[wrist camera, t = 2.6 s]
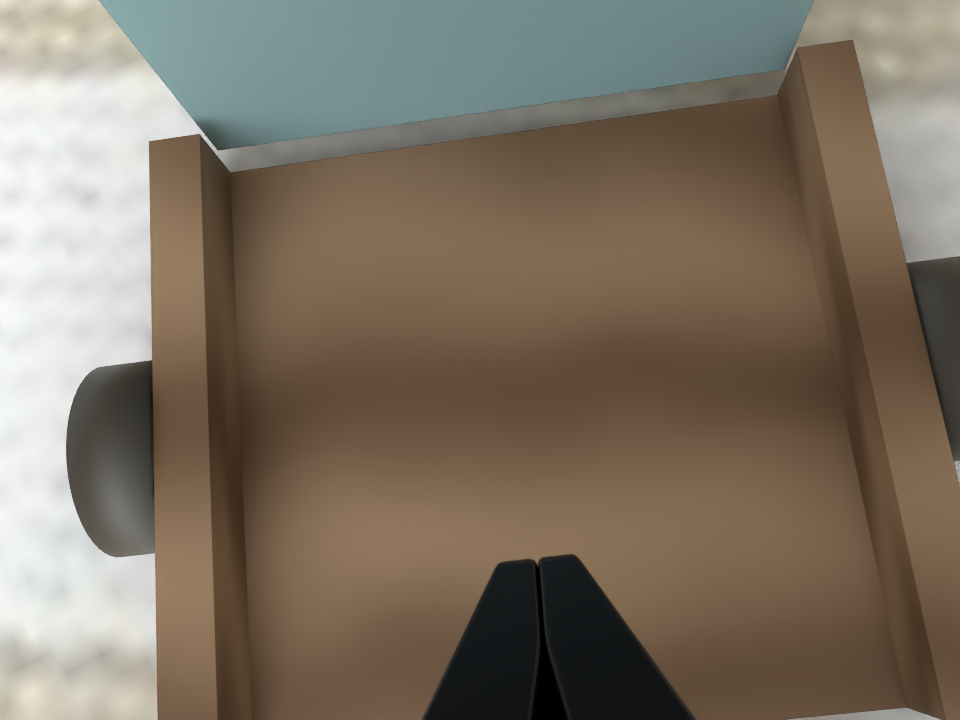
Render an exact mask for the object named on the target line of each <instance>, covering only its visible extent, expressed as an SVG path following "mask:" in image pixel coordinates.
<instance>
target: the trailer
mask: <svg viewBox="0 0 960 720" xmlns="http://www.w3.org/2000/svg"><path fill="white" fill-rule="evenodd" d="M149 169H150V236H151V303H152V360H151V361H144V362H136V363H128V364H120V365H113V366H105V367H99V368H97V369H95V370H93V371H92V372H90V373H89V374H88V375H87V376H86V377H85V378H84V380H83V381H82V383H81V384H80V386H79V388H78V390H77V392H76V394H75V397H74V399H73V403H72V406H71V410H70V415H69V420H68V427H67V440H66V458H67V470H68V478H69V484H70V489H71V493H72V498H73V501H74V504H75V508H76V511H77V514H78V516H79V518H80V521H81V523H82V525H83V527H84V529H85V531H86V533H87V534H88V536H89V537H90V539H91V540H92V541H93V543H94V544H95V545H96V546H97V547H98V548H99V549H100V550H102V551H103V552H104V553H106V554H108V555H110V556H114V557H125V556H134V555H143V554H152V553H155V571H156V638H157V705H158V720H421V719H422V717H423V715H424V713H425V711H426V708H427V706H428V704H429V702H430V700H431V698H432V696H433V694H434V692H435V690H436V688H437V686H438V684H439V682H440V680H441V678H442V676H443V673H444V671H445V669H446V667H447V665H448V663H449V661H450V659H451V657H452V655H453V653H454V651H455V649H456V647H457V645H458V643H459V641H460V638H461V636H462V634H463V632H464V630H465V628H466V626H467V624H468V622H469V620H470V618H471V616H472V614H473V612H474V610H475V608H476V606H477V603H478V601H479V599H480V597H481V595H482V593H483V591H484V589H485V587H486V585H487V583H488V581H489V579H490V577H491V575H492V573H493V571H494V569H495V567H496V566H497V564H499V563H500V562H504V561H512V560H521V559H533V560H535V562H536V563H537V566H538V561H539V559H541V558H542V557H548V556H557V555H566V554H574V555H576V556H577V557H578V558H579V559H580V560H581V561H582V563H583V564H584V565H585V567H586V568H587V569H588V571H589V572H590V574H591V575H592V576H593V578H594V579H595V580H596V582H597V583H598V585H599V586H600V587H601V589H602V590H603V591H604V593H605V594H606V596H607V597H608V598H609V600H610V601H611V602H612V604H613V605H614V607H615V608H616V609H617V611H618V612H619V613H620V615H621V616H622V618H623V619H624V620H625V622H626V623H627V624H628V626H629V627H630V629H631V630H632V631H633V633H634V634H635V635H636V637H637V638H638V640H639V641H640V642H641V644H642V645H643V646H644V648H645V649H646V650H647V652H648V653H649V655H650V656H651V657H652V659H653V660H654V661H655V663H656V664H657V666H658V667H659V668H660V670H661V671H662V672H663V674H664V675H665V677H666V678H667V679H668V681H669V682H670V683H671V685H672V686H673V688H674V689H675V690H676V692H677V693H678V694H679V696H680V697H681V699H682V700H683V701H684V703H685V704H686V705H687V707H688V708H689V710H690V711H691V712H692V714H693V715H694V716H695V718H696V719H697V720H784V719H794V718H805V717H815V716H825V715H835V714H845V713H855V712H865V711H875V710H885V709H896V708H906V707H907V708H910V709H913V710H916V711H918V712H921V713H924V714H927V715H930V716H933V717H936V718H939V719H942V720H960V486H959V482H958V478H957V474H956V469H955V465H954V461H959V460H960V256H959V257H951V258H943V259H935V260H928V261H920V262H912V263H906V260H905V256H904V252H903V248H902V243H901V239H900V235H899V231H898V227H897V223H896V218H895V214H894V210H893V206H892V202H891V197H890V193H889V189H888V185H887V181H886V176H885V172H884V168H883V164H882V160H881V156H880V151H879V147H878V143H877V139H876V135H875V130H874V126H873V122H872V118H871V114H870V110H869V105H868V101H867V97H866V93H865V89H864V84H863V80H862V76H861V72H860V68H859V63H858V59H857V55H856V51H855V47H854V43H853V40H848V41H841V42H834V43H827V44H820V45H813V46H806V47H799V48H797V50H796V53H795V55H794V57H793V60H792V62H791V64H790V67H789V69H788V71H787V74H786V76H785V78H784V81H783V83H782V86H781V88H780V90H779V93H778V95H775V96H768V97H761V98H754V99H747V100H740V101H733V102H726V103H719V104H712V105H705V106H698V107H691V108H683V109H676V110H669V111H662V112H655V113H648V114H641V115H634V116H627V117H620V118H613V119H606V120H599V121H592V122H584V123H577V124H570V125H563V126H556V127H549V128H542V129H535V130H528V131H521V132H514V133H507V134H500V135H492V136H485V137H478V138H471V139H464V140H457V141H450V142H443V143H436V144H429V145H422V146H415V147H408V148H401V149H393V150H386V151H379V152H372V153H365V154H358V155H351V156H344V157H337V158H330V159H323V160H316V161H309V162H302V163H294V164H287V165H280V166H273V167H266V168H259V169H252V170H245V171H238V172H231V173H230V171H229V170H228V169H227V168H226V166H225V165H224V164H223V163H222V161H221V160H220V159H219V158H218V156H217V155H216V154H215V153H214V151H213V150H212V149H211V148H210V146H209V145H208V144H207V143H206V142H205V140H204V139H203V138H202V137H201V135H200V134H197V135H190V136H183V137H176V138H169V139H162V140H155V141H149Z"/></svg>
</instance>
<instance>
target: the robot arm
mask: <svg viewBox="0 0 960 720" xmlns="http://www.w3.org/2000/svg"><path fill="white" fill-rule="evenodd" d="M421 720H697V719H696V718H695V716H694V715H693V714H692V712H691V711H690V710H689V708H688V707H687V705H686V704H685V703H684V701H683V700H682V699H681V697H680V696H679V694H678V693H677V692H676V690H675V689H674V688H673V686H672V685H671V683H670V682H669V681H668V679H667V678H666V677H665V675H664V674H663V672H662V671H661V670H660V668H659V667H658V666H657V664H656V663H655V661H654V660H653V659H652V657H651V656H650V655H649V653H648V652H647V650H646V649H645V648H644V646H643V645H642V644H641V642H640V641H639V640H638V638H637V637H636V635H635V634H634V633H633V631H632V630H631V629H630V627H629V626H628V624H627V623H626V622H625V620H624V619H623V618H622V616H621V615H620V613H619V612H618V611H617V609H616V608H615V607H614V605H613V604H612V602H611V601H610V600H609V598H608V597H607V596H606V594H605V593H604V591H603V590H602V589H601V587H600V586H599V585H598V583H597V582H596V580H595V579H594V578H593V576H592V575H591V574H590V572H589V571H588V569H587V568H586V567H585V565H584V564H583V563H582V561H581V560H580V559H579V558H578V557H577V556H576V555H574V554H566V555H557V556H548V557H542V558H541V559H539V561H538V566H537V563H536V562H535V560H533V559H521V560H512V561H504V562H500V563H499V564H497V566H496V567H495V569H494V571H493V573H492V575H491V577H490V579H489V581H488V583H487V585H486V587H485V589H484V591H483V593H482V595H481V597H480V599H479V601H478V603H477V606H476V608H475V610H474V612H473V614H472V616H471V618H470V620H469V622H468V624H467V626H466V628H465V630H464V632H463V634H462V636H461V638H460V641H459V643H458V645H457V647H456V649H455V651H454V653H453V655H452V657H451V659H450V661H449V663H448V665H447V667H446V669H445V671H444V673H443V676H442V678H441V680H440V682H439V684H438V686H437V688H436V690H435V692H434V694H433V696H432V698H431V700H430V702H429V704H428V706H427V708H426V711H425V713H424V715H423V717H422V719H421Z"/></svg>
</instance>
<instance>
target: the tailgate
mask: <svg viewBox="0 0 960 720" xmlns="http://www.w3.org/2000/svg"><path fill="white" fill-rule="evenodd" d="M99 1H100V3H101V4H102V5H103V6H104V8H105V9H106V10H107V11H108V13H109V14H110V15H111V17H112V18H113V19H114V20H115V22H116V23H117V24H118V25H119V27H120V28H121V29H122V30H123V32H124V33H125V34H126V35H127V37H128V38H129V39H130V40H131V42H132V43H133V44H134V45H135V47H136V48H137V49H138V51H139V52H140V53H141V54H142V56H143V57H144V58H145V59H146V61H147V62H148V63H149V64H150V66H151V67H152V68H153V69H154V71H155V72H156V73H157V74H158V76H159V77H160V78H161V80H162V81H163V82H164V83H165V85H166V86H167V87H168V88H169V90H170V91H171V92H172V93H173V95H174V96H175V97H176V98H177V100H178V101H179V102H180V103H181V105H182V106H183V107H184V108H185V110H186V111H187V112H188V114H189V115H190V116H191V117H192V119H193V120H194V121H195V122H196V124H197V125H198V126H199V127H200V129H201V130H202V131H203V132H204V134H205V135H206V136H207V137H208V139H209V140H210V141H211V142H212V144H213V145H214V146H215V148H216V149H217V150H223V149H230V148H237V147H244V146H251V145H258V144H265V143H272V142H279V141H286V140H293V139H300V138H307V137H314V136H321V135H328V134H335V133H342V132H349V131H356V130H363V129H370V128H377V127H384V126H391V125H398V124H405V123H412V122H419V121H426V120H433V119H440V118H447V117H454V116H461V115H468V114H475V113H482V112H489V111H496V110H503V109H510V108H517V107H524V106H531V105H538V104H545V103H552V102H559V101H566V100H573V99H580V98H587V97H594V96H601V95H608V94H615V93H622V92H629V91H636V90H643V89H650V88H657V87H664V86H671V85H678V84H685V83H692V82H699V81H706V80H713V79H720V78H727V77H734V76H741V75H748V74H755V73H762V72H769V71H776V70H783V69H785V67H786V65H787V63H788V60H789V58H790V55H791V53H792V51H793V48H794V46H795V43H796V41H797V39H798V36H799V34H800V32H801V29H802V27H803V24H804V22H805V20H806V17H807V15H808V12H809V10H810V8H811V5H812V3H813V1H814V0H99Z"/></svg>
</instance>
